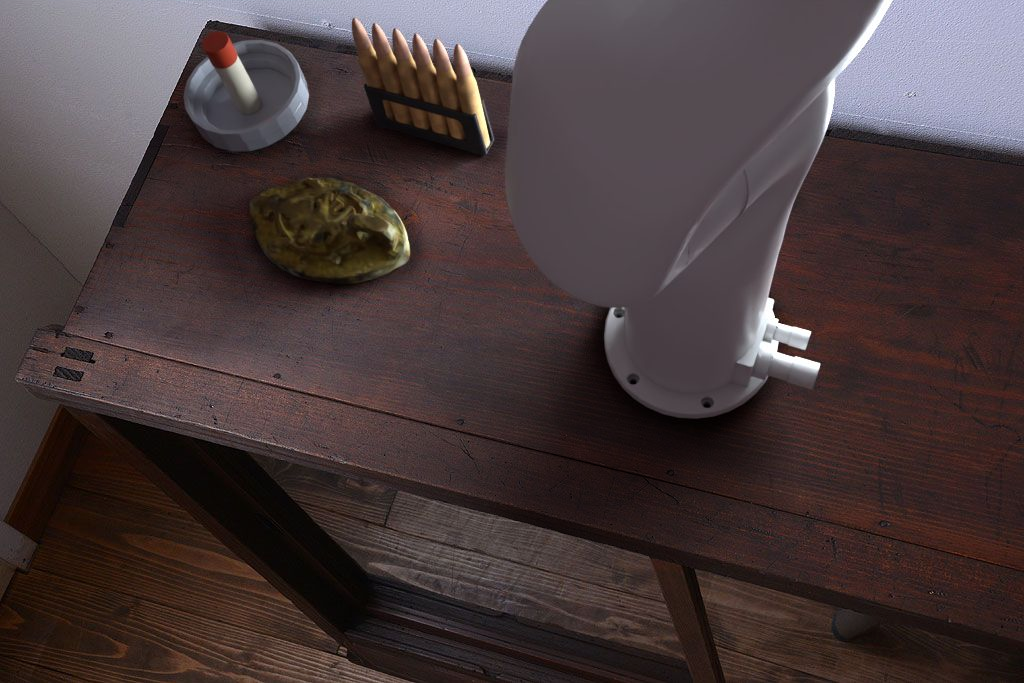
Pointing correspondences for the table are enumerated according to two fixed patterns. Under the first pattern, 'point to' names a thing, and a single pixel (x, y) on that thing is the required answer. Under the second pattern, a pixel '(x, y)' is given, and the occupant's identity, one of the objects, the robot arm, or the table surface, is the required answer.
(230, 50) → the red-capped cylinder
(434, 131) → the ammunition clip
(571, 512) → the table surface
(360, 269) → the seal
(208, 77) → the dish
